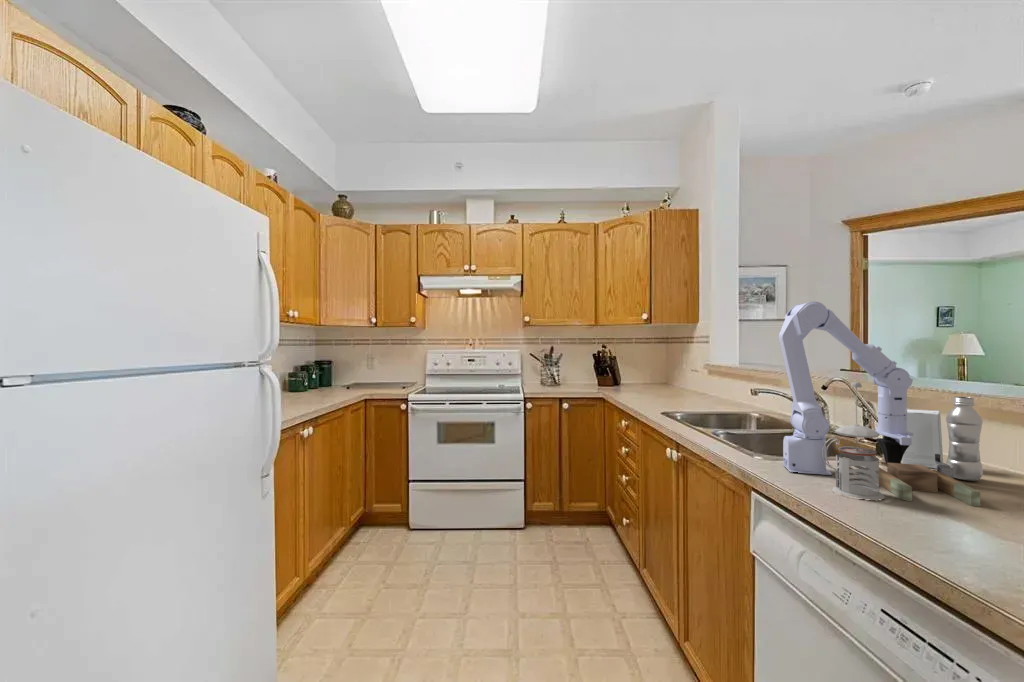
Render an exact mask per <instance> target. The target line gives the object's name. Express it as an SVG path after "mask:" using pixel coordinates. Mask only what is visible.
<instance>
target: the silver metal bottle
mask: <svg viewBox="0 0 1024 682" xmlns="http://www.w3.org/2000/svg"><path fill="white" fill-rule="evenodd" d="M952 405H954V406H953V408H951V410H949V411H948V413H947V415H946V417H945V422H946V426H947V432H948V439H949V441H948V444H949V447H948V455H947V458H946V463H945V464H948V465H950V466H951V467H954V479H957V480H961V481H966V480H967V481H969V482H970V481H971V482H973V481H974V482H975V481H980V480H981V479H982V477H983V473H984V470H983V463H982V461H981V454H980V442H981V433H982V427H983V418H982V416H981V415H980V413H978V411H977V410H976V409H975V408H974V406H975V398H974V397H971V396H953V397H952Z"/></svg>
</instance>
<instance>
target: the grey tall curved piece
mask: <svg viewBox="0 0 1024 682" xmlns="http://www.w3.org/2000/svg"><path fill="white" fill-rule="evenodd" d="M850 386H851V388H855V424H849V425H844V426H840V427H837V428H836V429H835V430H834V432H835V433H836V434H837V435H840V436H846V437H853V438H855V442H856V443H855V444H856V445H855V446H850V445H849V446H845V445H844V446H839V445H841V440H840V438H837V437H834V436H833V437H830V438H828V439H826V442H825V444H824V446H823V448H822V457H823V460H824V462H825V464H826V466H828V467H829V468H831V470H834V471H835V486H834V487H832V488H833V489H832V488H831V489H832V490H833V491H835V492H838V493H840V494H844V495H847V496H852V497H856V498H862V499H870V500H879V499H884V498H885V499H886V496H885V495H884V494H882V493H881V492H880V484H879V468H880V466H879V465H880V464H879V458H878V457H875V456H876V455H877V454H878V452H877V451H876V450H874V449H871V448H864V447H859V446H858V438H867V439H868V438H871V439H873V438H879V436H881V435H880V434H879V433H877V432H876V430H873V429H872V428H869V427H867V426H864V425H860V424H858V389H857V388H862V387H863V386H862V383H861V382H859V381H853V382H852V383H851V385H850ZM830 440H831V441H830ZM829 441H830V442H829ZM833 442H835V444H836V445H838V448H837V450H838V451H839V452H840V453H837V454H835V468H834V467H833V466H832V465H831V464H830V462H829V460H828V449H829V447H830V445H831V444H832V443H833ZM827 443H828V444H827ZM825 445H826V452H825V454H826V461H825V459H824V451H823V450H824V447H825ZM853 467H855V468H853ZM854 473H856V474H854ZM855 479H857V480H855ZM885 499H884V500H885Z"/></svg>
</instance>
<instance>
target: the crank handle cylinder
mask: <svg viewBox="0 0 1024 682" xmlns="http://www.w3.org/2000/svg"><path fill="white" fill-rule="evenodd" d="M935 463H936V464H938V465H937V469H936V471H938V472H940V473H942V474H944V475H947V476H949V477H951V478H953V479H955V478H954V467H951V466H950V465H948V464H946V463H945V462H944V461H943V462H941V461H940V454H935Z"/></svg>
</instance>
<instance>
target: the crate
mask: <svg viewBox="0 0 1024 682" xmlns="http://www.w3.org/2000/svg"><path fill="white" fill-rule="evenodd" d="M886 467H887V469H886V470H887V471H886V472H888V473H889V474H891V475H893V476H894V477H896V478H898V479H899V480H901V481H903V482H904V483H906V484H908V485H909V486H911V487H912V491H919V492H920V491H921V492H931V491H934V492H935V493H938V487H937V477H938V474H937V472H935V471H933V470H934V469H932V468H929V467H926V466H924V465H916V464H903V463H902V462H901V463H887V465H886Z"/></svg>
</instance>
